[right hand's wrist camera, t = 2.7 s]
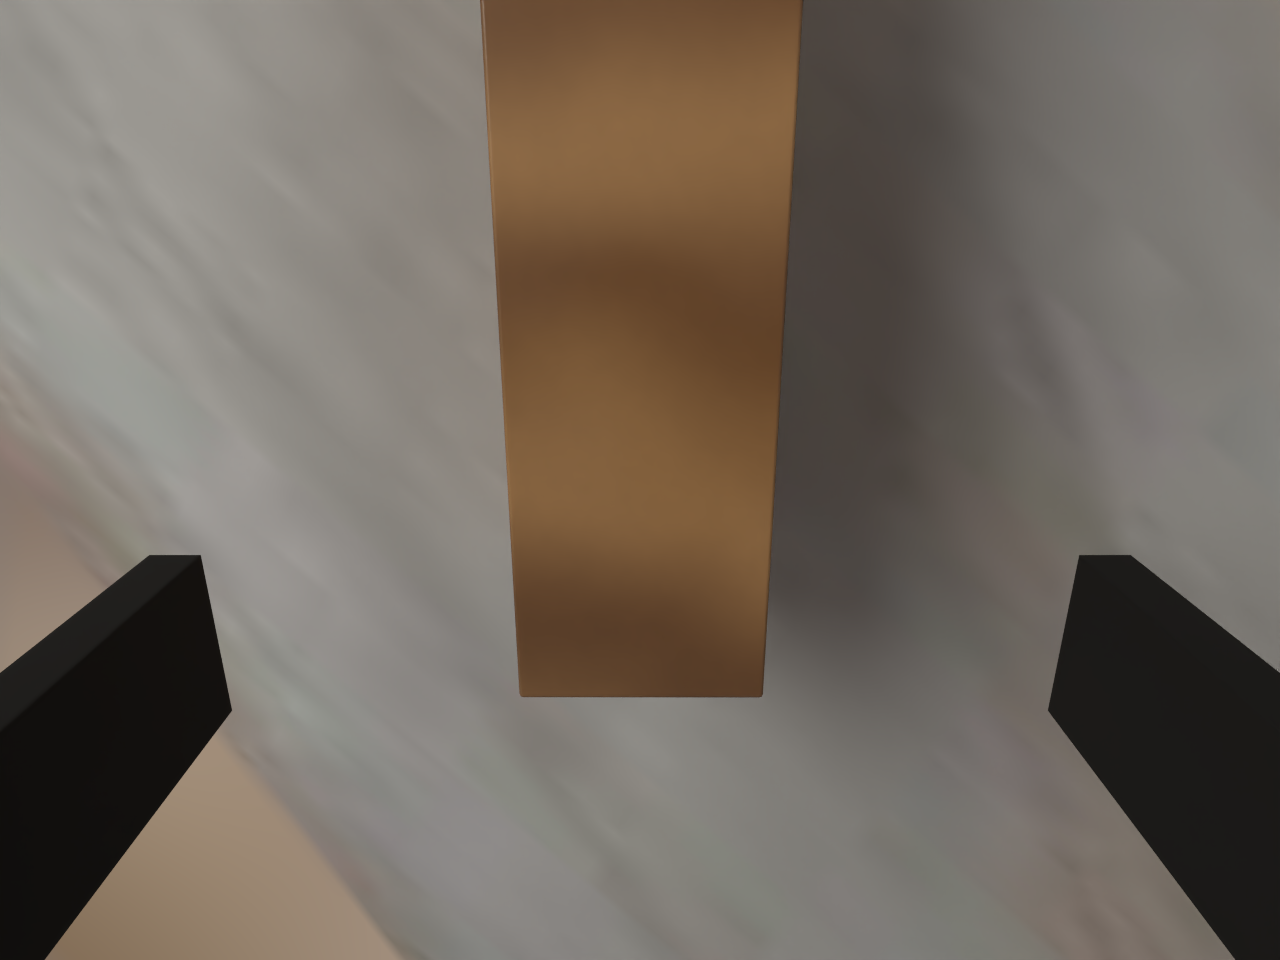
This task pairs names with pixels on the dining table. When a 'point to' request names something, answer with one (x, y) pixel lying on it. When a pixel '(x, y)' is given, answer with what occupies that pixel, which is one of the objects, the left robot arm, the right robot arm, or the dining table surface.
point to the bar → (641, 332)
